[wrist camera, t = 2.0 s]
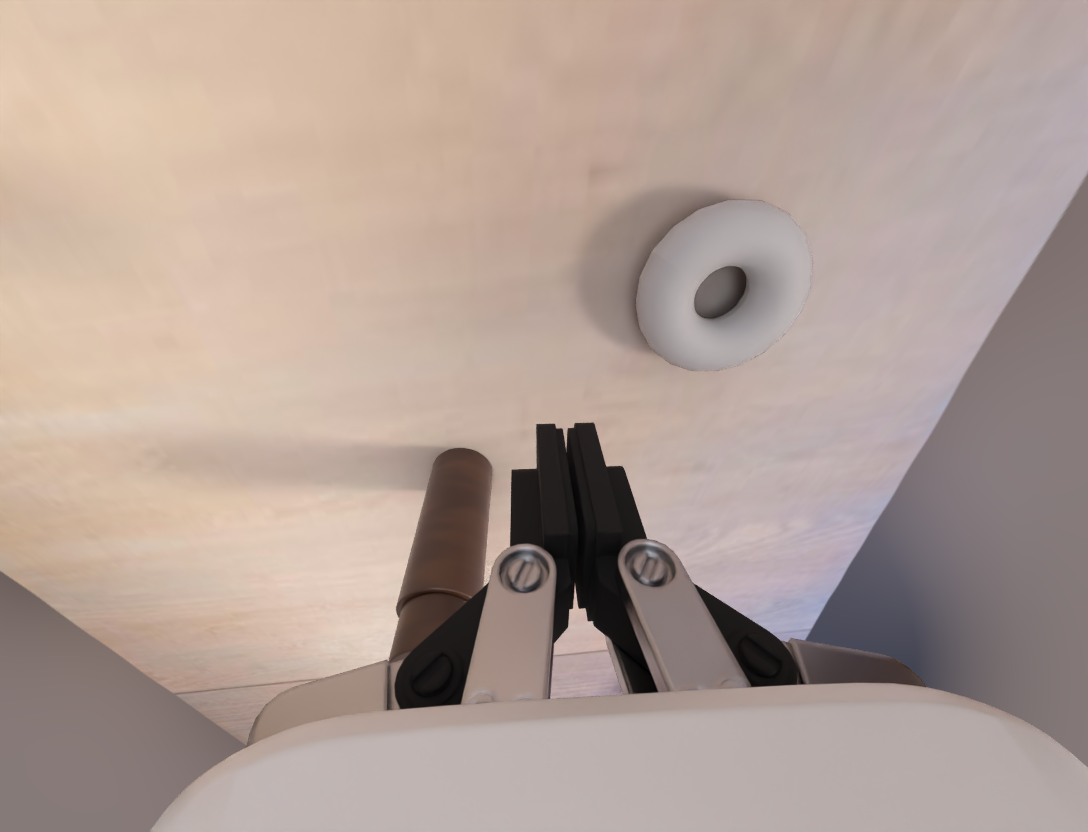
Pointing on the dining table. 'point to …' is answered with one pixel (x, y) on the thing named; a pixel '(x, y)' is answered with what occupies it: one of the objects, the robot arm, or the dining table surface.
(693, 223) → the donut
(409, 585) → the pepper mill
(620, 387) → the dining table surface
